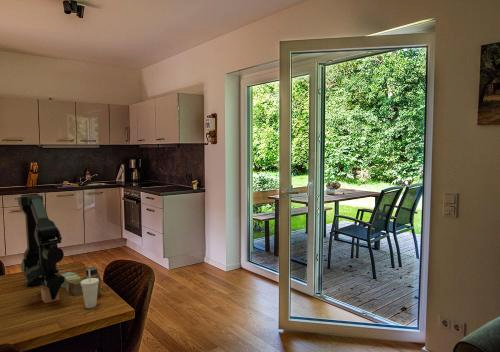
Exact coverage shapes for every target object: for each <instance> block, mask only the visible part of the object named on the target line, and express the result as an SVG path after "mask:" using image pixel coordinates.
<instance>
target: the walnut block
mask: <svg viewBox="0 0 500 352" xmlns="http://www.w3.org/2000/svg"><path fill="white" fill-rule="evenodd" d="M82 280H84V278H81V277H80V279H76V280H73V281H70V282H68V287H69V292H68V295H71V296H73V297H77V296H81V295H83V291H82V286H81V285H80V284H81V283H80V282H81V281H82Z"/></svg>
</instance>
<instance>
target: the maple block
mask: <svg viewBox="0 0 500 352" xmlns="http://www.w3.org/2000/svg"><path fill="white" fill-rule="evenodd" d="M80 278H81V276H79V274H77V275H74V276H69V277H65V288H64V289H65V291H66V292H67V293H69V287H68V282H70V281H73V280H76V279H80Z"/></svg>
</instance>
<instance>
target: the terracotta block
mask: <svg viewBox="0 0 500 352" xmlns="http://www.w3.org/2000/svg"><path fill="white" fill-rule="evenodd" d="M40 293H41V294H40V295H41V301H43V302H44V303H45V304H48V303H51V302H55V301H58V300H60V290H59V291H58V293H57V296H56V298H55V299H54V300H52V299H51V296H50V292H49V288H48V287H46V286H44V287H43V286H40Z"/></svg>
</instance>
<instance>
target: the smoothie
mask: <svg viewBox="0 0 500 352" xmlns="http://www.w3.org/2000/svg"><path fill="white" fill-rule="evenodd" d="M88 271H89V279H85V280H84V279H83V280H82V281H81V282H80V283H81V284H80V285H81V286H82V291H83V294H82V295H83V301H84V306H85V307H84V308H86V309H94V308H96V307H97V302H98V301H97V299H98V297H97V291H98V283H99V279H97V278H90V270H88Z"/></svg>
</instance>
